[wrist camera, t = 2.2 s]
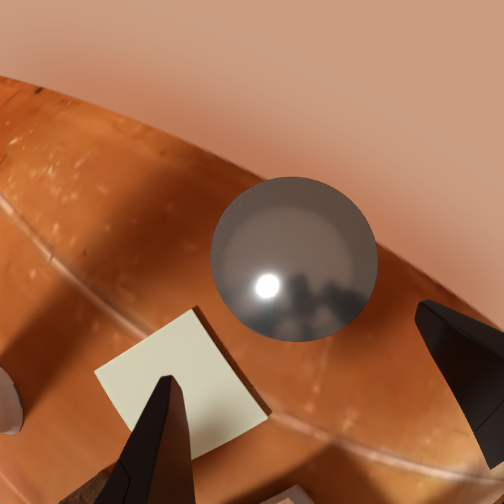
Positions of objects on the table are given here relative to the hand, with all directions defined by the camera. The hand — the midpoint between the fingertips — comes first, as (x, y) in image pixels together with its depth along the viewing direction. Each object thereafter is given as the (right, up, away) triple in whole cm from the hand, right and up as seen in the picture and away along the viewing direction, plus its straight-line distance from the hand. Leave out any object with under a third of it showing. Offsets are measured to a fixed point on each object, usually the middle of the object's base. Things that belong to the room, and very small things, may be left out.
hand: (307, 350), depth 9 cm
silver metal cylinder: (-1, 0, +10) cm, 10 cm away
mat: (-7, -7, +8) cm, 13 cm away
